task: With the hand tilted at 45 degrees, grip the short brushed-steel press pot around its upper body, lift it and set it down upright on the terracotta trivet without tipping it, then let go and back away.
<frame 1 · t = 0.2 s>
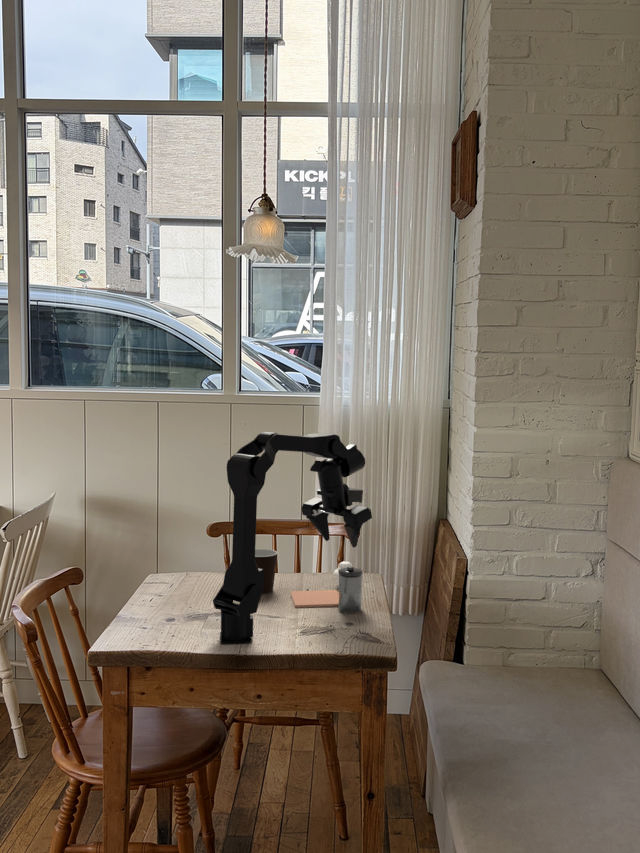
hand: (340, 543, 203), 15 cm above the table, tool pointing down, fingers open, 9 cm apart
muffin: (345, 587, 221), on the table
press pot: (349, 609, 201), on the table
trivet: (316, 599, 209), on the table
coffee mug: (262, 589, 218), on the table
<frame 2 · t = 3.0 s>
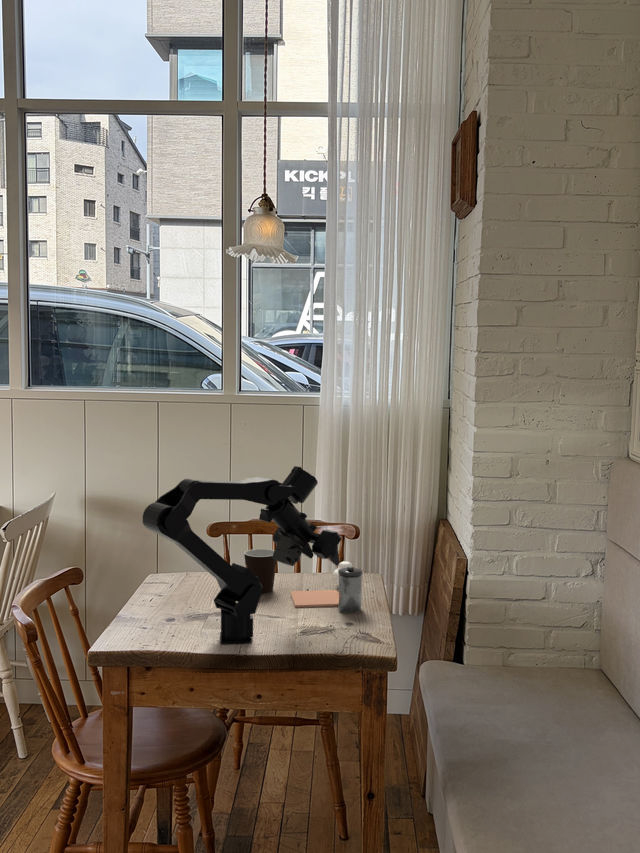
hand: (324, 560, 194), 13 cm above the table, tool tilted 45°, fingers open, 9 cm apart
nothing on the table moved.
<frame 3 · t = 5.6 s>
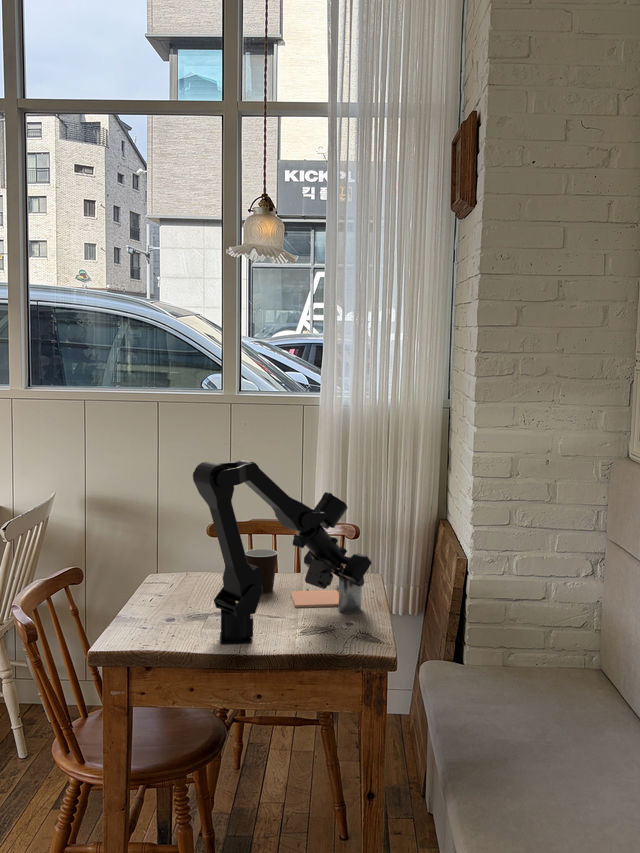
hand: (354, 581, 201), 7 cm above the table, tool tilted 45°, fingers closed on press pot, 5 cm apart
press pot: (349, 609, 201), on the table, touching gripper
everything else where it was.
when the fingers open (8 cm above the table, at t = 8.8 s): press pot drops 1 cm, resting on trivet.
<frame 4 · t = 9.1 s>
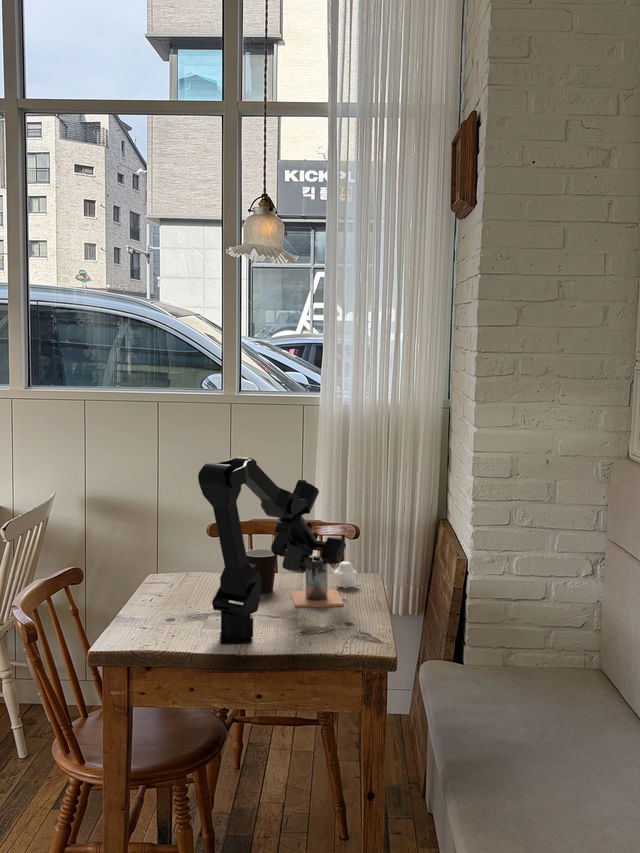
hand: (319, 565, 209), 9 cm above the table, tool tilted 45°, fingers open, 8 cm apart
press pot: (316, 597, 208), point 1 cm above the table, touching trivet
everything else where it was.
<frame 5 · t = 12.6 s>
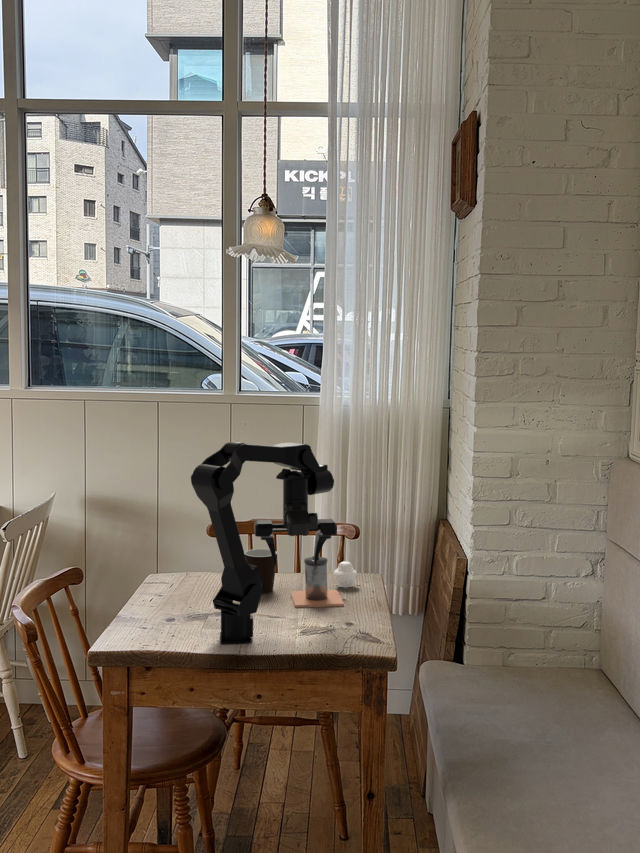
hand: (295, 564, 192), 13 cm above the table, tool pointing down, fingers open, 9 cm apart
nothing on the table moved.
at the end: press pot inside the target area on the trivet (0.1 cm from its centre), point 0.7 cm above the trivet's base; press pot tilted 2°; the gripper is holding nothing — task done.
